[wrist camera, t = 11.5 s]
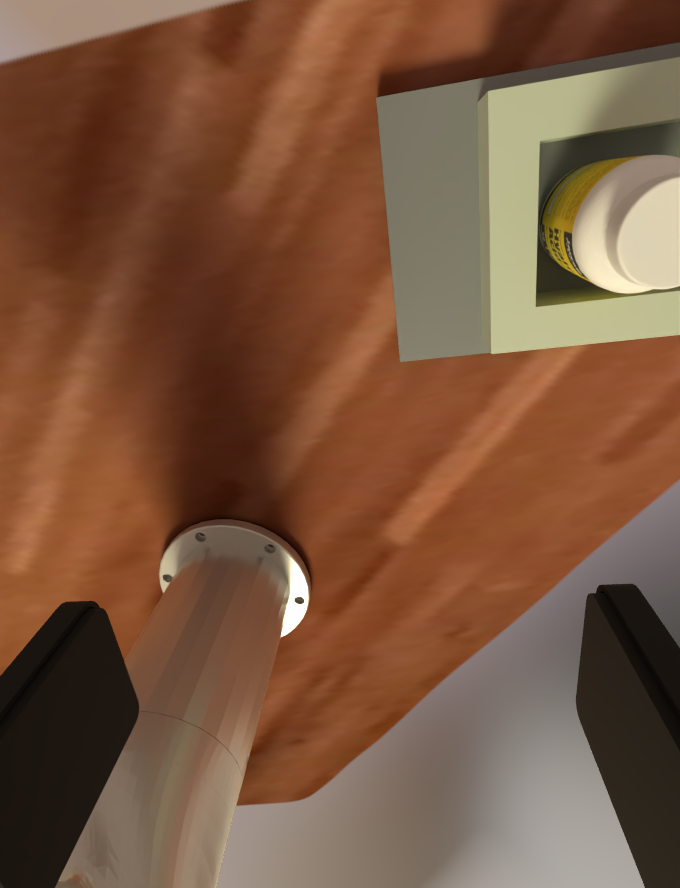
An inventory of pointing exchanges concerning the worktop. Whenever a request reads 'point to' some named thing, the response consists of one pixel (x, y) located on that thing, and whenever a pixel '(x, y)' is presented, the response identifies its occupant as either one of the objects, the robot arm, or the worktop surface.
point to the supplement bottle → (617, 223)
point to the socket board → (451, 198)
